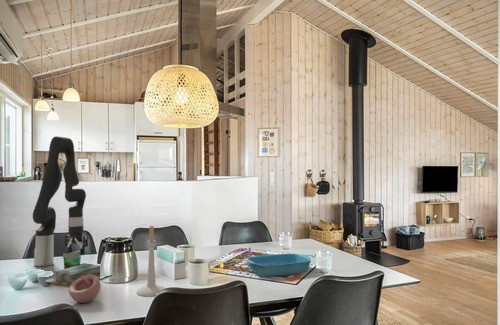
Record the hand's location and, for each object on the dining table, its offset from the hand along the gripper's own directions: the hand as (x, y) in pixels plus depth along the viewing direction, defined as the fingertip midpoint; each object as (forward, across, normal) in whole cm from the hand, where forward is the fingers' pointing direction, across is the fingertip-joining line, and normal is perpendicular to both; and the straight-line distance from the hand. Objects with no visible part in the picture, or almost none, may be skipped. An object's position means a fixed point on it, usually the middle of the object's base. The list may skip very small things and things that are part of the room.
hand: (76, 254), depth 210 cm
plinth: (+8, +15, -14) cm, 22 cm away
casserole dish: (+11, +106, +35) cm, 112 cm away
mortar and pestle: (+9, +43, -39) cm, 59 cm away
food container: (+8, -1, 0) cm, 8 cm away
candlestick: (+10, +61, -18) cm, 65 cm away
